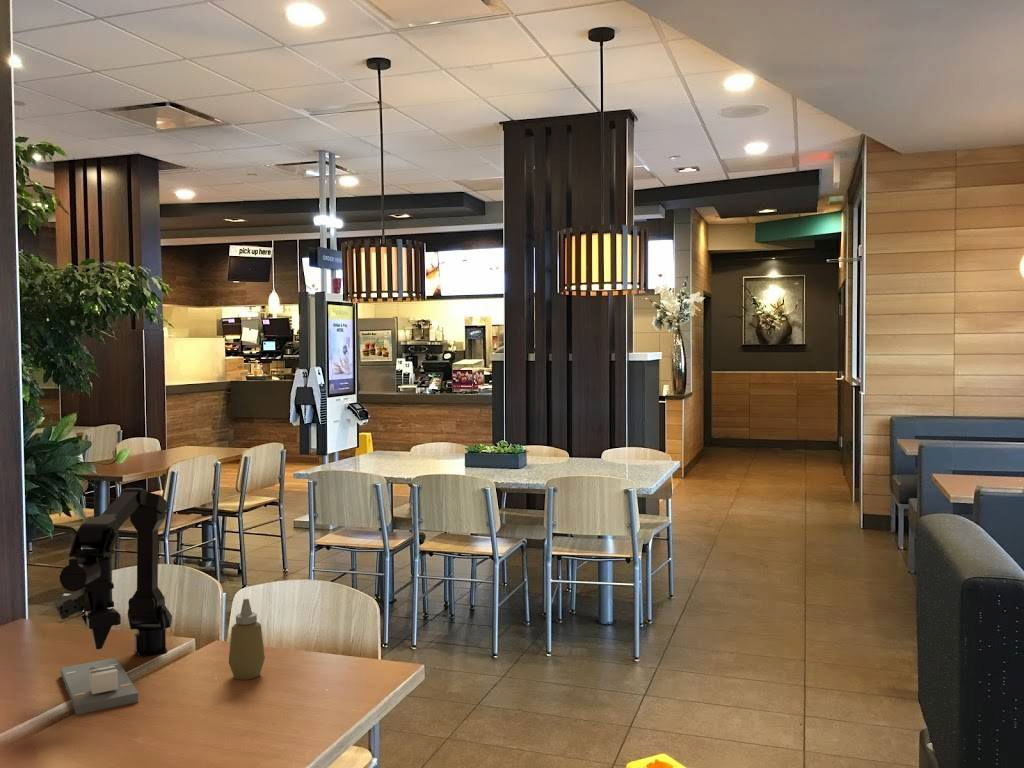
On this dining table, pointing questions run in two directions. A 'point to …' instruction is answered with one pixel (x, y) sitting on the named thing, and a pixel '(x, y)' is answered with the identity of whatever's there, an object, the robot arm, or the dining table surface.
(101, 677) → the cap
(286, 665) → the dining table surface
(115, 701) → the plate
